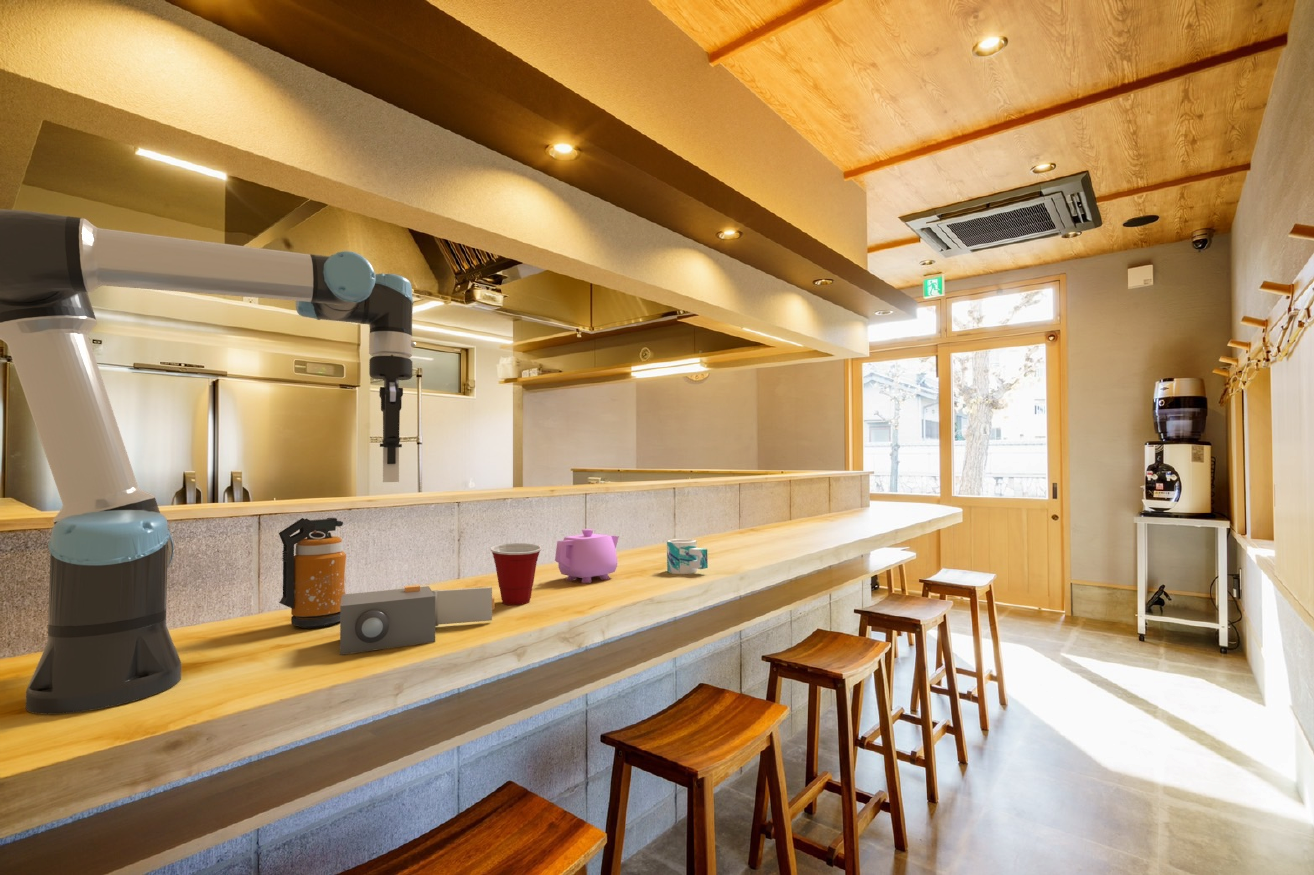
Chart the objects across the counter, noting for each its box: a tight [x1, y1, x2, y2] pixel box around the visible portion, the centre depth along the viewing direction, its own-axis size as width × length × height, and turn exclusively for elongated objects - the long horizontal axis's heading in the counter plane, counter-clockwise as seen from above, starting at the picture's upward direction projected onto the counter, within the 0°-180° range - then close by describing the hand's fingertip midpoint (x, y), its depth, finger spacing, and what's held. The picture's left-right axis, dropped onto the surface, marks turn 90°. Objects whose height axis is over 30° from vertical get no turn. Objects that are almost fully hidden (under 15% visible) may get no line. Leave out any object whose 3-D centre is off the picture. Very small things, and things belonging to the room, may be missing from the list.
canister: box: [278, 517, 347, 629], centre depth 115 cm, size 9×11×20 cm
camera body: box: [339, 584, 436, 656], centre depth 102 cm, size 14×12×8 cm
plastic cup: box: [489, 542, 543, 606], centre depth 130 cm, size 11×11×12 cm
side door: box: [432, 586, 495, 627], centre depth 112 cm, size 2×11×6 cm, turn 104°
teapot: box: [554, 528, 619, 584], centre depth 157 cm, size 20×12×13 cm, turn 136°
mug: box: [666, 538, 708, 575], centre depth 164 cm, size 8×12×8 cm
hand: (390, 481), depth 115 cm, fingers closed
